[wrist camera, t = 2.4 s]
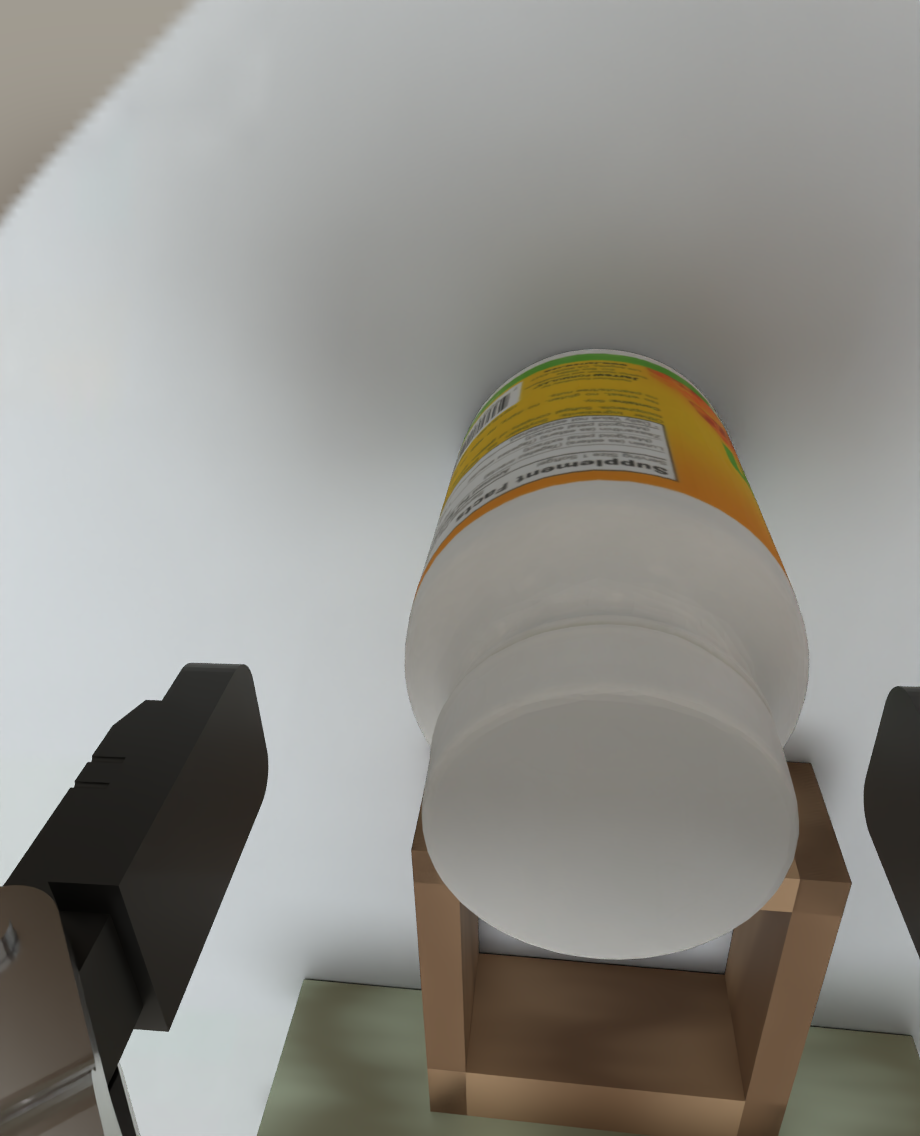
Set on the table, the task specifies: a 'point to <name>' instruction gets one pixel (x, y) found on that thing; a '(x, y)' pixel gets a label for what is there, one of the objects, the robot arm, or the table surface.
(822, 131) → the table surface
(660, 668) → the supplement bottle
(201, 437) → the table surface
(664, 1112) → the board
